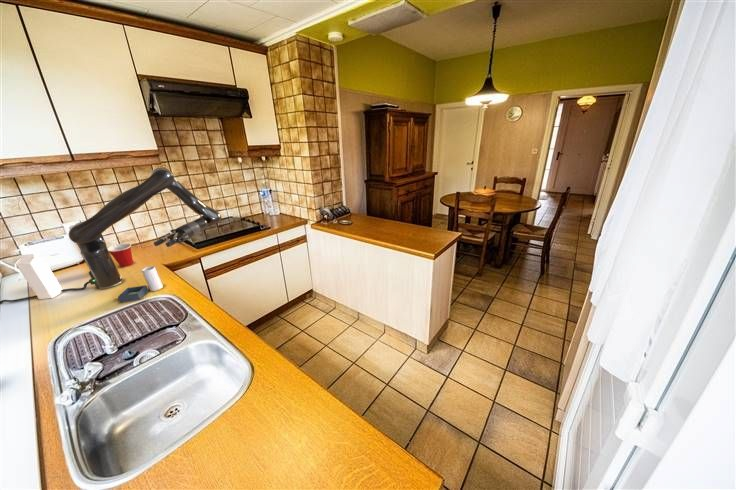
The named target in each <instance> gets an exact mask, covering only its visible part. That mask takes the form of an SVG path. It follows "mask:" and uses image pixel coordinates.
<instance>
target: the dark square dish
mask: <svg viewBox="0 0 736 490" xmlns="http://www.w3.org/2000/svg"><path fill="white" fill-rule="evenodd" d="M149 291H150V289H149V287H148V285H146V284H145V285H138V286H132V287H127V288H125V290H123V291H122V292H121V293H120V294H119V295H118V296H117V299H118V301H119V303H126V302H128V303H129V302H132V301H133V302H134V301H139V300H141V299H142V298H143V297H144V296H145V295H147V293H148V292H149Z"/></svg>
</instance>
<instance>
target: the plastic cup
mask: <svg viewBox="0 0 736 490" xmlns="http://www.w3.org/2000/svg"><path fill="white" fill-rule="evenodd" d="M107 249H108V251H109V253H110V255H111V257H112V258H113V259H114V260H115V261H116V263H118V265H119V266H120V268H124V267H125V268H126V267H130V266H132V265H133V264H134V260H133V254H132V244H131V243H129V242H127V243H126V242H125V243H118V244H114V245H111V246H109V247H107Z"/></svg>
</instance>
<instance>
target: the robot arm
mask: <svg viewBox="0 0 736 490" xmlns="http://www.w3.org/2000/svg"><path fill="white" fill-rule="evenodd" d="M150 173H151V174H150V176H149V177H147V179H145V180H144V181H142V182H141V183H139V184H138V185H136V186H134V187H131V188H128V189H127V190H124V191H123V192H121V193H119V194H118V195H117V196H115V197H113V198H111V200H109V201H108V202H107V203H106V204H105V205H104V206H103V207H102V208H100V209H99V210H98V211H97V212H96V213H94V215H92V216H90V217H89V218H87V219H86V220H84V221H80V222H77V223H75V224H73V226H72V227H70V229H69V231H68V238H69V240H70V241H71V242H73V243H75V244H78V247H79V250H80V251H79V252H80V255H81V256H82V258H83V261H84V262H85V264H86V266H87V268H88V270H89V271H88V275H89V276H90V279H88V281H87V282H85V283H84V284H83V287H78V288H77V287H72V288H71V287H70V288H64V289H63V288H62V289H63V290H61V292H62V293H65V292H68V291H69V292H70V291H82V290H86V289H87V286H88V285H89V284H90V285H91V286H92V285H94V286H95V287H96V289H98V290H99V289H100V290H106V289H110V288H113V287H116V286H119V285H120V284H122V283H123V282H124V279H123V276H122V274H120V272H119V269H118V268H117V266H116V264H115V261H114V258H113V256H112V255H111V253H110V252H109V251H108V249H107V248H108V245H107V242H106V239H105V238H104V236H103V234H104V232H105V231H107V230H108V229H109V228H110V227H112V226H113V225H116V224H117V223H118V222H121V221H122V220H124V219H125V218H127V217H128V216H130V215H131V214H133V213H134V212H135V211H137V210H138V209H140V208H141V207H142V206H144V205H145V204H146V203H147V202H148V201H149V200H151V199H152V198H153V197H154V196H156V195H157V194H159V193H161V192H164V190H168V191H169V192H171V193H172V194H174V195H175V196H176V197H177V198H178V199H179V200H180V201H181V202H182V203H183V204H184V205H186V206H187V208H189V209H190V210H191V211H192V212H194V213H195V214H197V215H199V216H200V217H198V218H196V219H193V220H192V221H189V222H186V223H184V224H182V225H180V226H178V227H176V228H175V232H172V233H171V232H167V233H165V234H163V235H161V236H159V237H158V240H156V241H154V242H153V245H154V246H155V247H158V246H161V245H162V244H165V246H166V247H167V248H169V247H172V246H174V245H175V244H176V245H177V244H181V243H183V242H185V241H188V240H189V239H191V238H193V237H194V236H196V235H199V234H200V233H201V232H203V231H205V230H207V228H208V227H210V226H212V225H215V224H219V223H221V221H222V220H223V219H222V215H221V213H220V212H219V211H217V210H216V209H214V208H212V207H211V206H209V205H207V204H206V203H204V202H203V201H202V200H201V199H200V198H199V197H197V196H196V195H195V194H194V193H192V192H191V191H190V190H189V189H187V188H186V187H185V186H184V185H183V184H182V183H181V182H180V181H179V180H178V179H177V178H176V177H175V175H174V174H173V172H172V171H171V170H170V169H168V168H166V167H162V166H160V167H159V166H158V167H155V168H153V169H152V171H151V172H150ZM36 298H38V297H37V295H36V294H35V295H31V296H27V297H22V298H16V299H2V300H0V305H2V304H3V303H17V302H22V301H26V300H30V299H36Z"/></svg>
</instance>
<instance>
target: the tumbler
mask: <svg viewBox="0 0 736 490" xmlns="http://www.w3.org/2000/svg"><path fill="white" fill-rule="evenodd" d="M141 274H142V276H143V278H144V280H145V282H146V284H147V285H146V286H147V288H148V290H149V291H150V292H156V291H159V290H161V289H163V287H164V284H163V282H162V280H161V277H160V275H159V272H158V270H157V268H156V266H155V265H150V266H146V267H144V268H142V269H141Z"/></svg>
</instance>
